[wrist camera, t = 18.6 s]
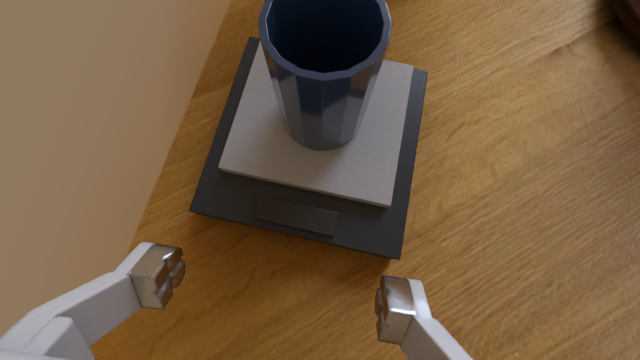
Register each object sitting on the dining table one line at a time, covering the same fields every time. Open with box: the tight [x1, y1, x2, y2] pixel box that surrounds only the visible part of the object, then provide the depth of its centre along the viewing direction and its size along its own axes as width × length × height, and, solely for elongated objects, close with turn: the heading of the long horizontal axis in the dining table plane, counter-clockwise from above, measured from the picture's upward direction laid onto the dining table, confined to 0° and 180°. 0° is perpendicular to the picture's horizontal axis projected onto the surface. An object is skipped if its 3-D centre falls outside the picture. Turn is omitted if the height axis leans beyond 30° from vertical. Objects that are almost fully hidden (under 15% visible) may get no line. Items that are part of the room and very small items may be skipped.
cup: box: [258, 0, 392, 151], centre depth 17 cm, size 6×6×9 cm
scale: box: [189, 37, 428, 260], centre depth 23 cm, size 16×16×3 cm
